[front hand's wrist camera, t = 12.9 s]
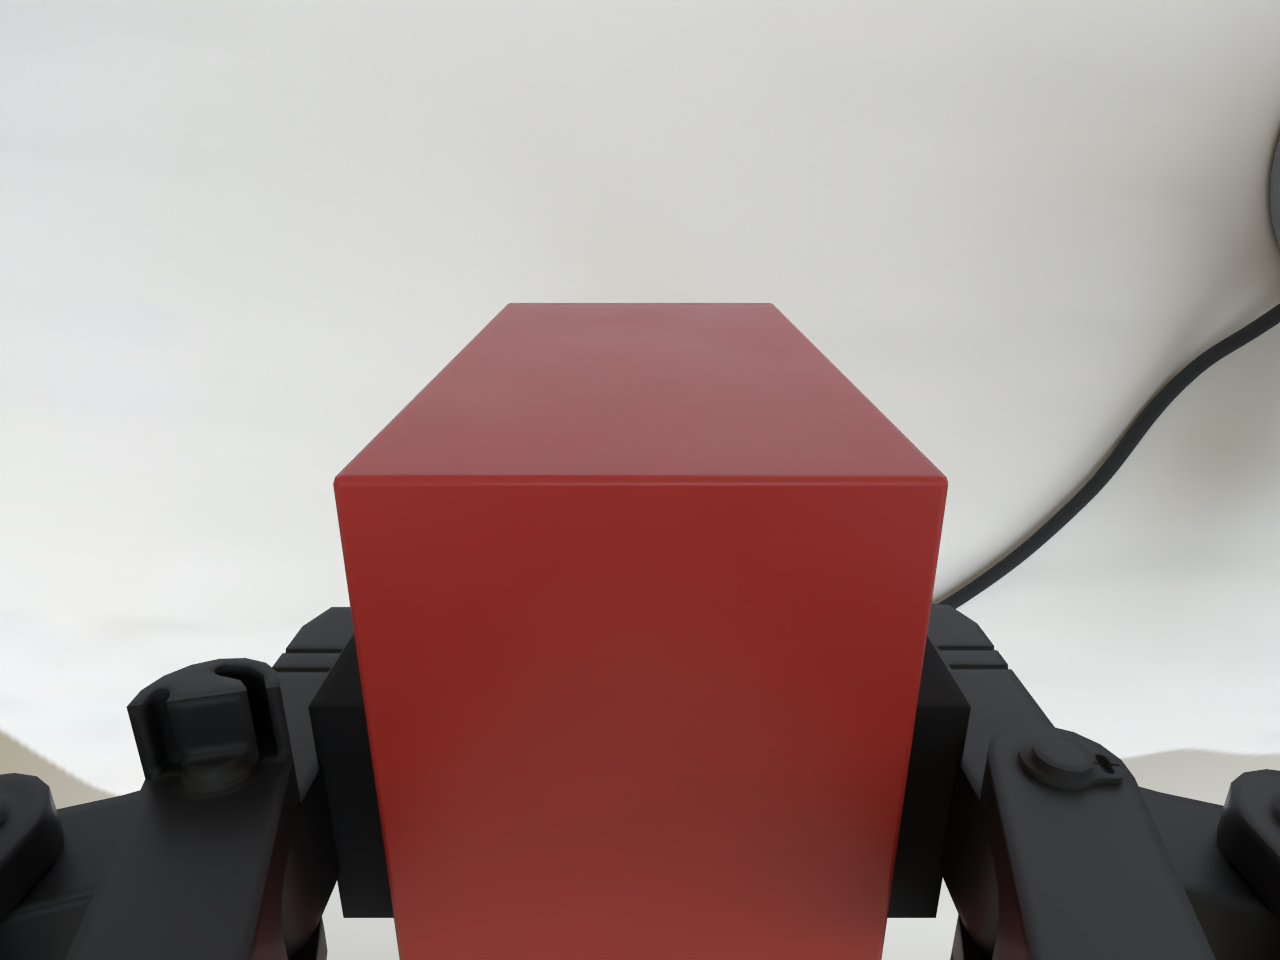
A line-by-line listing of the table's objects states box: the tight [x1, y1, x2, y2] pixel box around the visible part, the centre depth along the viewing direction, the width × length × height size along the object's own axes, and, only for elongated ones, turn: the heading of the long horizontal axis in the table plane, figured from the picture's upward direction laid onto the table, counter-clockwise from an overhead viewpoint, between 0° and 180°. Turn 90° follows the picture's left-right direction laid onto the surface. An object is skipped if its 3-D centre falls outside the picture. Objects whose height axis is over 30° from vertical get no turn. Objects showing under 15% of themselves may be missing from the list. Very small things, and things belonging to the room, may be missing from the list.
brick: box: [333, 303, 948, 960], centre depth 12 cm, size 5×8×9 cm, turn 0°
